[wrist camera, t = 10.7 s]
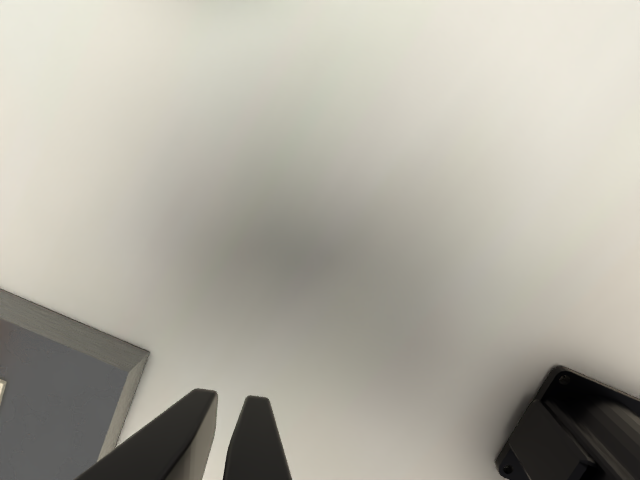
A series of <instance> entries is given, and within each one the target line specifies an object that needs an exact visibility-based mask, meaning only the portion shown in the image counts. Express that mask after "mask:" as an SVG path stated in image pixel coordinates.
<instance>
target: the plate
mask: <svg viewBox="0 0 640 480" xmlns="http://www.w3.org/2000/svg"><path fill="white" fill-rule="evenodd" d="M149 353H150V352H148V351H145V350H143V349H141V348H138V347H136V346H134V345H131V344H129V343H126V342H124V341H122V340H119V339H117V338H115V337H112V336H110V335H108V334H105V333H103V332H101V331H98V330H96V329H93V328H91V327H89V326H86V325H84V324H82V323H79V322H77V321H75V320H72V319H70V318H68V317H65V316H63V315H60V314H58V313H56V312H53V311H51V310H49V309H46V308H44V307H42V306H39V305H37V304H34V303H32V302H30V301H27V300H25V299H23V298H20V297H18V296H16V295H13V294H11V293H9V292H6V291H4V290H1V289H0V480H74V479H75V478H76V477H78V476H79V475H80V474H82V473H83V472H84V471H86V470H87V469H88V468H90V467H91V466H92V465H94V464H95V463H96V462H98V461H99V460H100V459H102V458H103V457H104V456H106V455H107V454H108V453H110V452H111V451H112V450H114V449H115V446H116V443H117V440H118V438H119V435H120V432H121V429H122V427H123V424H124V421H125V418H126V416H127V413H128V410H129V408H130V405H131V402H132V399H133V397H134V394H135V391H136V388H137V386H138V383H139V380H140V377H141V375H142V372H143V369H144V367H145V364H146V361H147V358H148V356H149Z"/></svg>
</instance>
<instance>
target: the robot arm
mask: <svg viewBox="0 0 640 480" xmlns="http://www.w3.org/2000/svg"><path fill="white" fill-rule="evenodd" d="M564 375H566V376H565V378H564V379H563V380H559V379H560V377H561V376H564ZM217 404H218V394H217V392H216V391H214V390H206V389H194V390H192V391H191V392H190V393H188V394H187V395H186V396H184V397H183V398H182V399H180V400H179V401H178V402H176V403H175V404H174V405H172V406H171V407H170V408H168V409H167V410H166V411H164V412H163V413H162V414H160V415H159V416H158V417H156V418H155V419H154V420H152V421H151V422H150V423H148V424H147V425H146V426H144V427H143V428H142V429H140V430H139V431H138V432H136V433H135V434H134V435H132V436H131V437H130V438H128V439H127V440H126V441H124V442H123V443H122V444H120V445H119V446H118V447H116V448H115V449H114V450H112V451H111V452H110V453H108V454H107V455H106V456H104V457H103V458H102V459H100V460H99V461H98V462H96V463H95V464H94V465H92V466H91V467H90V468H88V469H87V470H86V471H84V472H83V473H82V474H80V475H79V476H78V477H76V478H75V479H74V480H202V478H203V474H204V471H205V467H206V464H207V460H208V457H209V453H210V450H211V446H212V443H213V439H214V435H215V429H216V417H217ZM495 465H496V468H497V470H498V472H499V473H500V475H501V476H503V477H504V478H507V479H509V480H640V399H638V398H635V397H633V396H631V395H628V394H626V393H624V392H622V391H619V390H617V389H615V388H612V387H610V386H608V385H605V384H603V383H601V382H599V381H596V380H594V379H592V378H589V377H587V376H585V375H582V374H580V373H578V372H575V371H573V370H571V369H569V368H566V367H562V366H560V367H556V368H554V369H553V370H552V371H551V372H550V374H549V376H548V377H547V379H546V380H545V382H544V384H543V385H542V387H541V389H540V390H539V392H538V393H537V395H536V397H535V398H534V400H533V401H532V402H531V404H530V405H529V407H528V409H527V410H526V412H525V413H524V415H523V417H522V418H521V420H520V422H519V423H518V425H517V426H516V428H515V430H514V431H513V433H512V435H511V436H510V438H509V440H508V442H507V444H506V445H505V447H504V448H503V450H502V452H501V453H500V455H499V456H498V458H497V460H496V462H495ZM507 465H510V466H509V467H507V468H504V467H505V466H507ZM223 480H292V477H291V474H290V470H289V467H288V463H287V460H286V456H285V453H284V449H283V446H282V442H281V439H280V435H279V432H278V428H277V425H276V421H275V418H274V414H273V411H272V407H271V404H270V401H269V399H268V398H266V397H259V396H251V395H249V396H247V397H246V399H245V401H244V404H243V407H242V410H241V413H240V415H239V418H238V421H237V424H236V426H235V429H234V432H233V435H232V438H231V441H230V444H229V447H228V451H227V456H226V462H225V469H224V476H223Z"/></svg>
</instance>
